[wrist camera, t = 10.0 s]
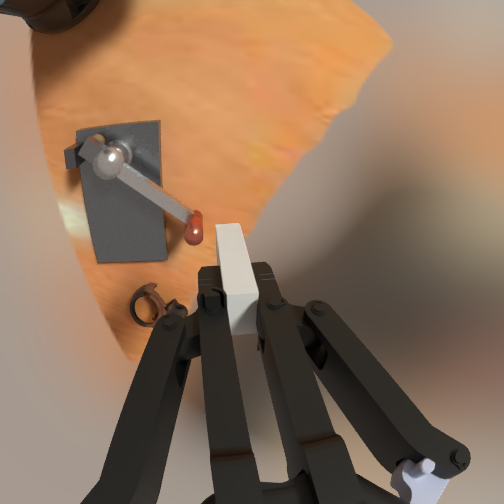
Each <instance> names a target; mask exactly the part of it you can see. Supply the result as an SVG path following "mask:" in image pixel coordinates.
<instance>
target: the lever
mask: <svg viewBox="0 0 504 504" xmlns="http://www.w3.org/2000/svg"><path fill="white" fill-rule="evenodd" d="M78 155H80V156H81V157H83V158H84V159H85V160H87V161H88V162H90V163H91V164H93V169H94V172H95V173H96V175H97V176H98V177H100V178H101V179H104V180H110V179H113V178H115V177H117V178H119V179H120V180H122V181H123V182H124V183H126V184H127V185H129V186H130V187H132V188H133V189H135V190H136V191H138V192H139V193H141V194H142V195H144V196H145V197H147V198H148V199H149V200H151V201H152V202H154V203H155V204H157V205H158V206H160V207H161V208H163V209H164V210H166V211H167V212H169V213H170V214H172V215H173V216H175V217H176V218H178V219H179V220H181V221H182V222H184V223H185V224H186V225H185V241H186V242H187V243H188V244H189V245H198V244H200V243H201V242H202V240H203V216H202V214H201V212H199V211H197V210H193V209H191V208H190V207H189V206H187V205H186V204H184V203H183V202H181V201H180V200H178V199H177V198H176V197H174V196H173V195H171V194H170V193H168V192H167V191H165V190H164V189H163V188H161V187H160V186H158V185H157V184H155V183H154V182H152V181H151V180H150V179H148V178H147V177H145V176H144V175H142V174H141V173H139V172H138V171H137V170H135V169H134V168H132V167H131V166H129V165H128V164H127V163H128V160H129V152H128V150H127V148H126V147H125V146H124V145H122V144H119V143H114V144H111V145H109V146H108V147H107V146H106V145H104V144H103V143H101V142H100V141H99V140H97V139H96V138H94V137H93V136H90V137H88V138H87V139H86V141H85V142H84V144H83V146H82V147H81V149H80V151H79V153H78Z"/></svg>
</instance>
